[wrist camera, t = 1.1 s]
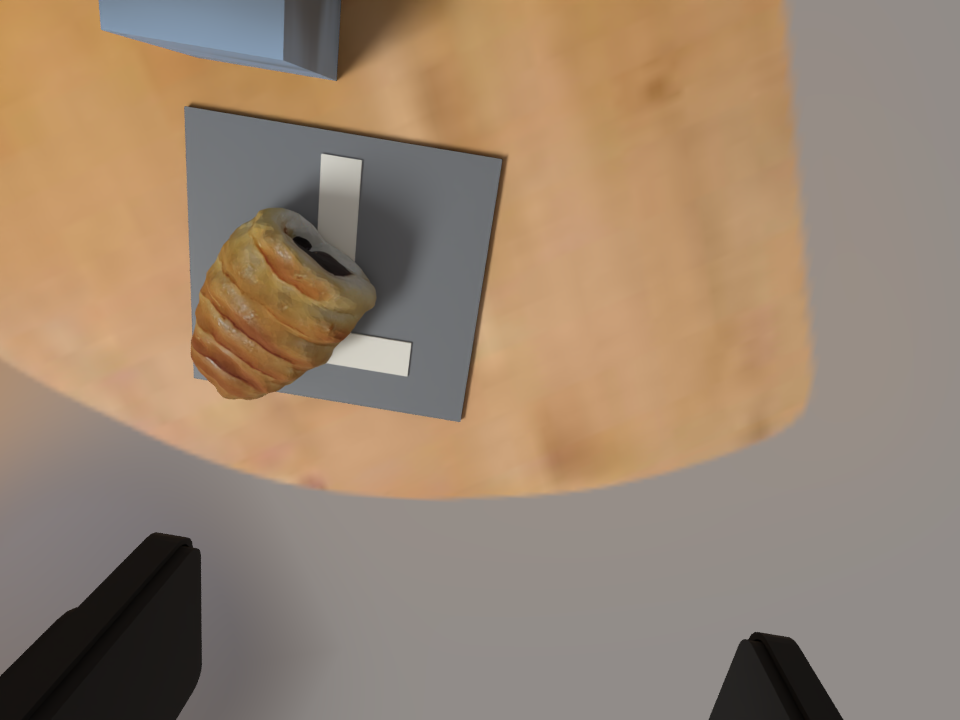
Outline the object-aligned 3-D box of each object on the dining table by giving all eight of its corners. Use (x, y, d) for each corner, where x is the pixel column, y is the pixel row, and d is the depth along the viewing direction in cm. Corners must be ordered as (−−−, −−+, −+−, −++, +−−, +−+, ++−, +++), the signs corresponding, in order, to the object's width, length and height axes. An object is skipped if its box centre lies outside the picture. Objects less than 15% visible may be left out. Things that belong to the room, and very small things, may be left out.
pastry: (283, 415, 29) (250, 451, 26) (173, 332, 28) (123, 359, 24) (392, 284, 26) (372, 305, 23) (275, 186, 25) (235, 192, 21)
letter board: (186, 106, 24) (182, 106, 24) (502, 159, 24) (502, 159, 24) (196, 376, 29) (193, 378, 29) (460, 420, 29) (460, 422, 29)
